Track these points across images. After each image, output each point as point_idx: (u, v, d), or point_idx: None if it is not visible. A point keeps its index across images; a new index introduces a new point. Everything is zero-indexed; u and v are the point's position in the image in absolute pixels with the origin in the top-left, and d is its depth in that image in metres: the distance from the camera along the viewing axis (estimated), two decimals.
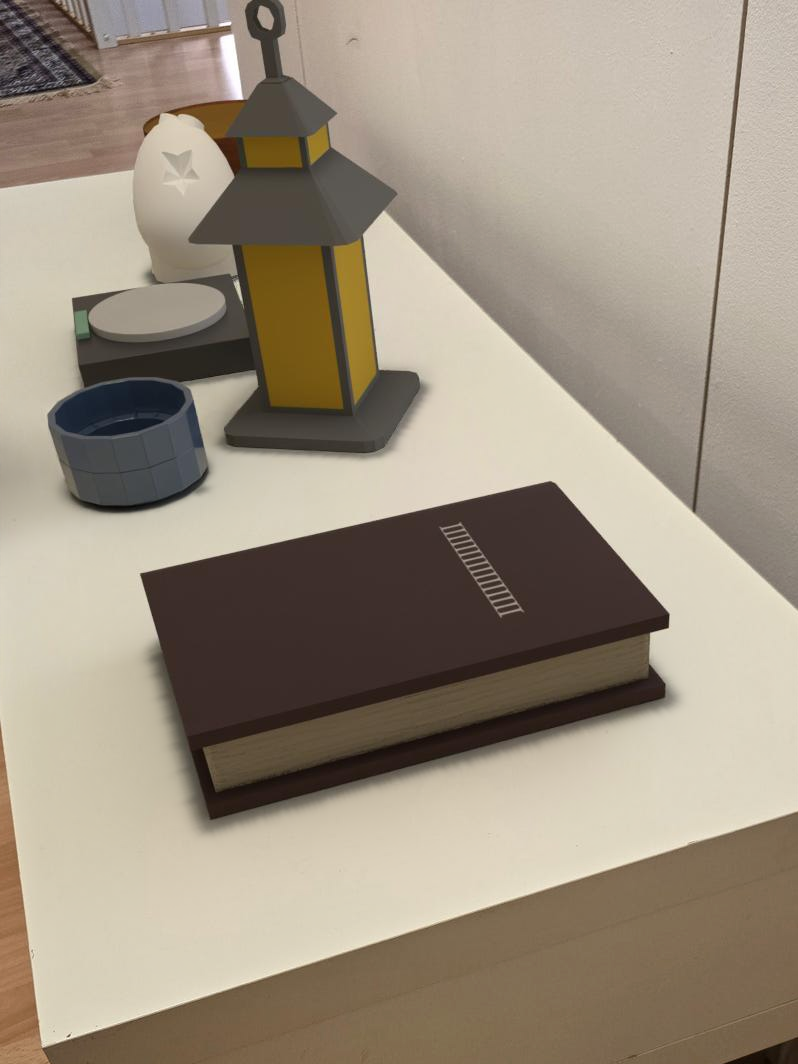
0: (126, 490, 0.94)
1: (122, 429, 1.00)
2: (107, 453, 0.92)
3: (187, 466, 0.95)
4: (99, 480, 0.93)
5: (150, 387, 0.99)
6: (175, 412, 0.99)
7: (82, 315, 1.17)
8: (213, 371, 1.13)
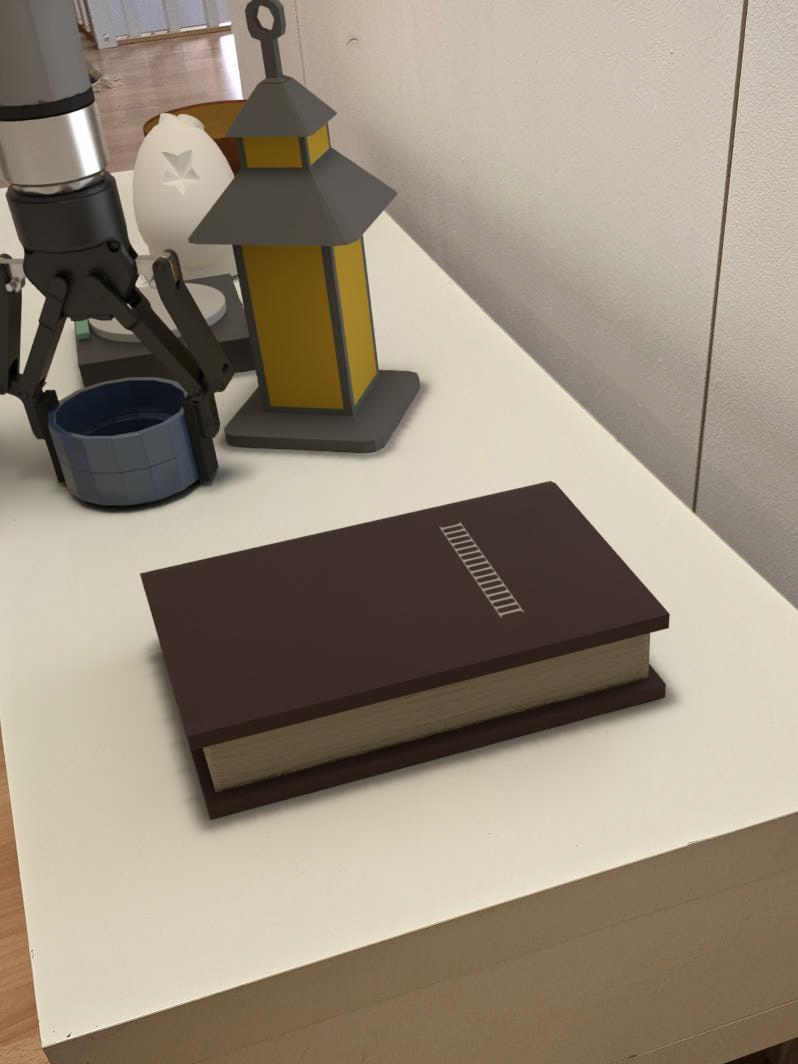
0: (126, 490, 0.94)
1: (122, 429, 1.00)
2: (107, 453, 0.92)
3: (187, 466, 0.95)
4: (99, 480, 0.93)
5: (150, 387, 0.99)
6: (175, 412, 0.99)
7: None
8: None
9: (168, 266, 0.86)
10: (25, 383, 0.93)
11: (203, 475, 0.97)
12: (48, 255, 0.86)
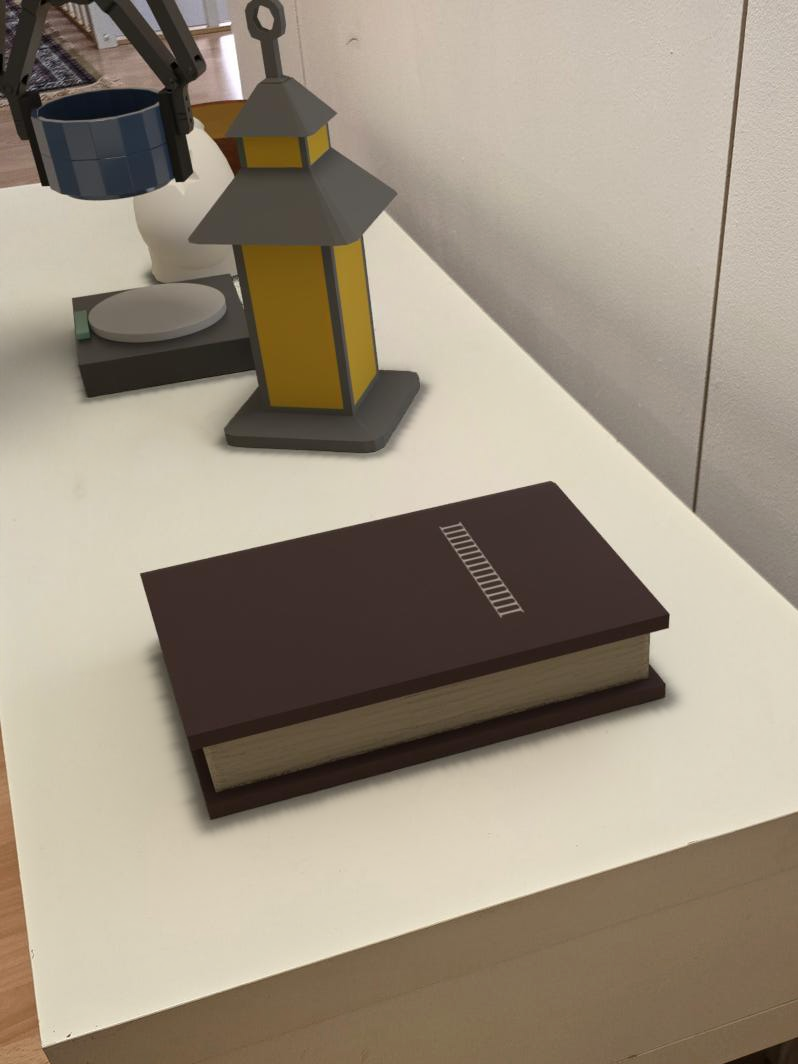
0: (104, 179, 0.99)
1: None
2: (85, 137, 0.97)
3: (162, 162, 1.01)
4: (78, 169, 0.99)
5: (129, 96, 1.04)
6: None
7: (82, 315, 1.17)
8: (213, 371, 1.13)
9: None
10: (9, 76, 0.99)
11: (178, 174, 1.02)
12: None
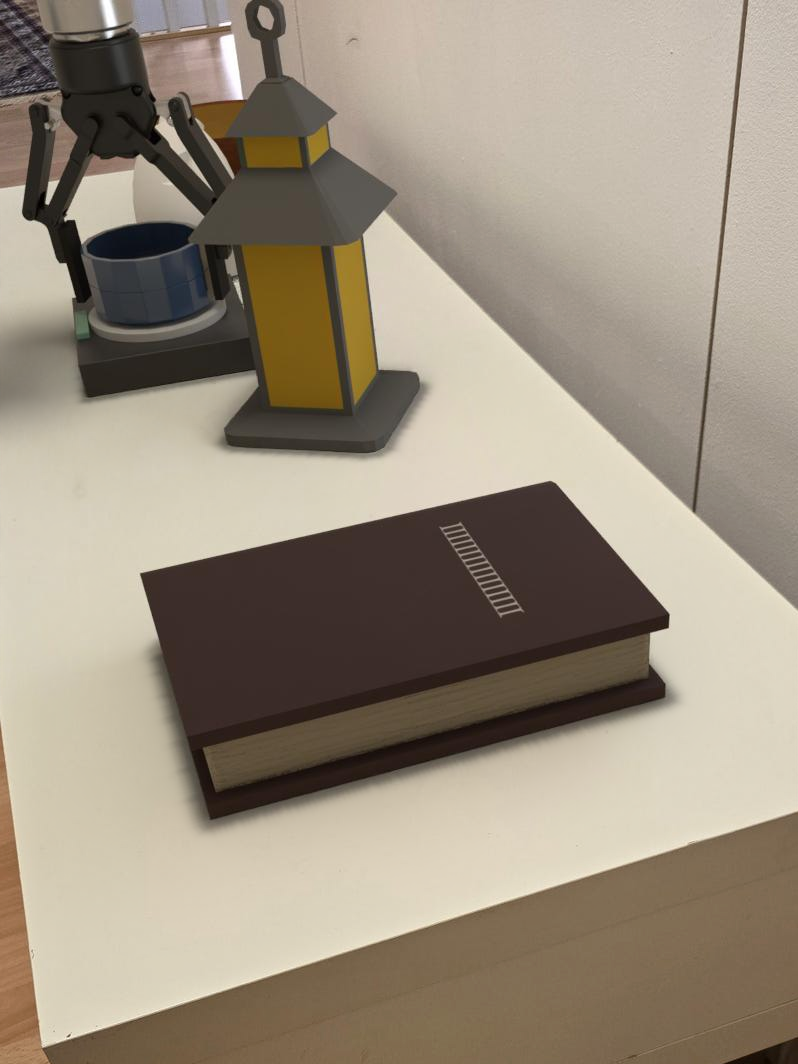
0: (146, 309, 1.11)
1: None
2: (131, 274, 1.09)
3: (198, 291, 1.13)
4: (124, 300, 1.11)
5: (166, 229, 1.16)
6: None
7: (82, 315, 1.17)
8: (213, 371, 1.13)
9: (181, 103, 1.03)
10: (51, 210, 1.10)
11: (217, 293, 1.14)
12: (82, 100, 1.04)
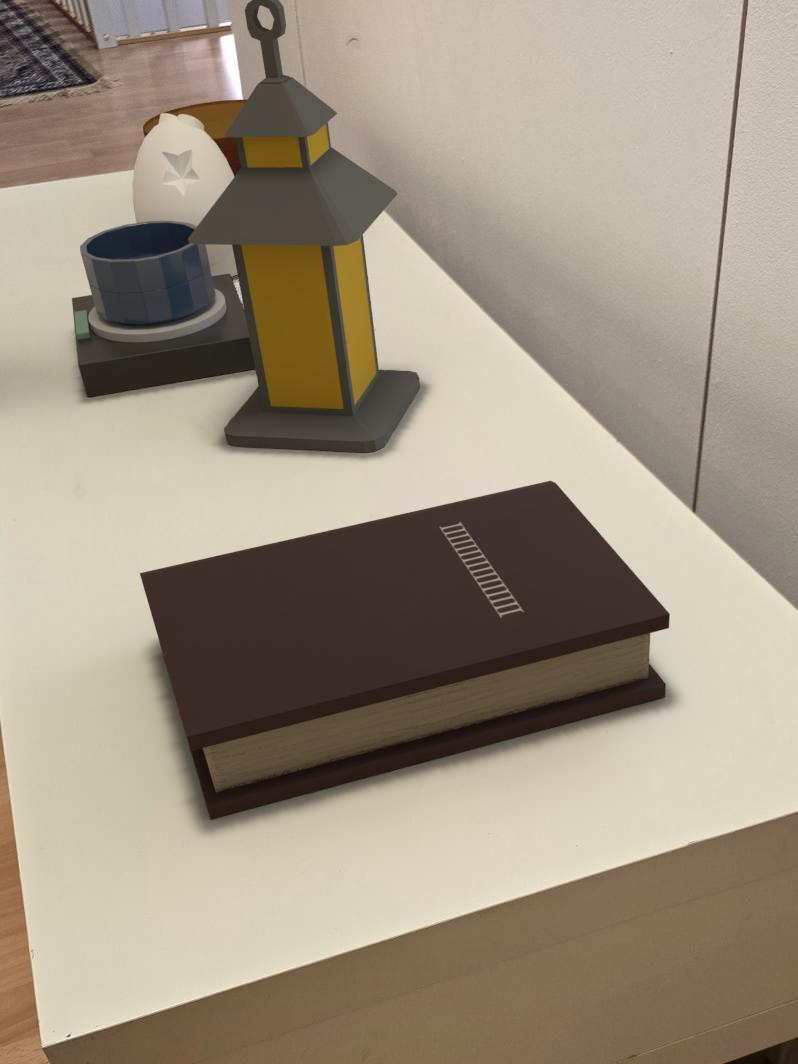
0: (146, 309, 1.11)
1: None
2: (131, 274, 1.09)
3: (198, 291, 1.13)
4: (124, 300, 1.11)
5: (166, 229, 1.16)
6: None
7: (82, 315, 1.17)
8: (213, 371, 1.13)
9: None
10: None
11: None
12: None
